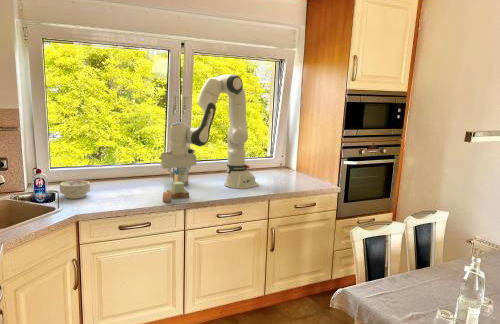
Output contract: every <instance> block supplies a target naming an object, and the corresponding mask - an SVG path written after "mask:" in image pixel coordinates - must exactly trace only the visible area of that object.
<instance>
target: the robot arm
mask: <svg viewBox="0 0 500 324" xmlns="http://www.w3.org/2000/svg"><path fill="white" fill-rule="evenodd" d="M243 84H244V83H243V80H242V78H241V76H239V75H237V74H231V73H230V74H229V73H228V74H219V75H216V76H214V77H209V78H207V80H206V81H205V82H204V84H203V85H202V87H201V90H199V91H200V92H199V93H198V96H197V100H196V101H197V104H198V106H199V108H201V109H202V111H203V115H202V117H201V121H200V124H199V126H198V127H193V126H191V125H188V124H187V123H186V122H184V121H176V122H173V123H172V124H171V125H170V129H169V139H170V150H169V151H163V152H162V153H161V154H160V167H161V168H162V169H167V170H168V172H169V176H171V177H173V171H172V169H173V168H175V167H185V166H187V167H188V169H187V170H186V174H188V175H189V174H190V171H191V168H192V167H194V166H196V165H197V163H198V162H197V156H196V154H195V151H196V150H195V149H193V148H190V147H187V144H191V145H194V146H197V147H204V146H206V144H207V143H208V142H209V140H210V133H211V132H210V131H211V128H212V126H213V125H212V124H213V122H214V119H215V115H216V110H217V109H216V108H217V107H216V106H217V102H218V101H219V100H218V99H219V97H220V94H221V93H222V94H227V95H228V120H229V121H228V123H229V127H228V128H227V131H226V132H227V133H226V137H227V140H226V141H227V143H226V144H227V165H226V178H225V182H224V186H225V187H228V188H232V189H240V190H242V189H249V188H254V187H259V185H260V184H259V183H258V182H257V181H256V176H255V175H254V174H253V173H252V172H250V171H249V170H248V169H250V168H251V166H250V165H249V164H245V163H246V162H245V161H246V151H245V150H246V149H245V143H246V142H247V141H248V139H249V134H248V132H249V131H248V122H247V98H246V97H247V96H246V92H245V89H244V85H243ZM191 166H192V167H191Z"/></svg>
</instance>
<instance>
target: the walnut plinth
mask: <svg viewBox="0 0 500 324" xmlns="http://www.w3.org/2000/svg"><path fill="white" fill-rule="evenodd" d="M166 192H171V200H172V199H173V200H174V199H183V198H190V192H189V191H187V190H186V189H185V188H184V192H180V193H174V192H173V191H172V189H166Z"/></svg>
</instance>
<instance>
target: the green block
mask: <svg viewBox="0 0 500 324" xmlns="http://www.w3.org/2000/svg"><path fill="white" fill-rule="evenodd" d="M184 189H185V186H184V183H183V182H171V190H172V191H173V192H174V193H180V192H184Z"/></svg>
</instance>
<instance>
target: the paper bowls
mask: <svg viewBox="0 0 500 324" xmlns="http://www.w3.org/2000/svg"><path fill="white" fill-rule="evenodd" d="M59 192H60V194H62V195H64V197H65V198H67V199H72V200H75V199H82V198H84V197H86V195H87V193H90V192H91V182H90V181H88V180H82V179H79V180H78V179H76V180H75V179H74V180H67V181H62V182H60V183H59Z"/></svg>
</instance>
